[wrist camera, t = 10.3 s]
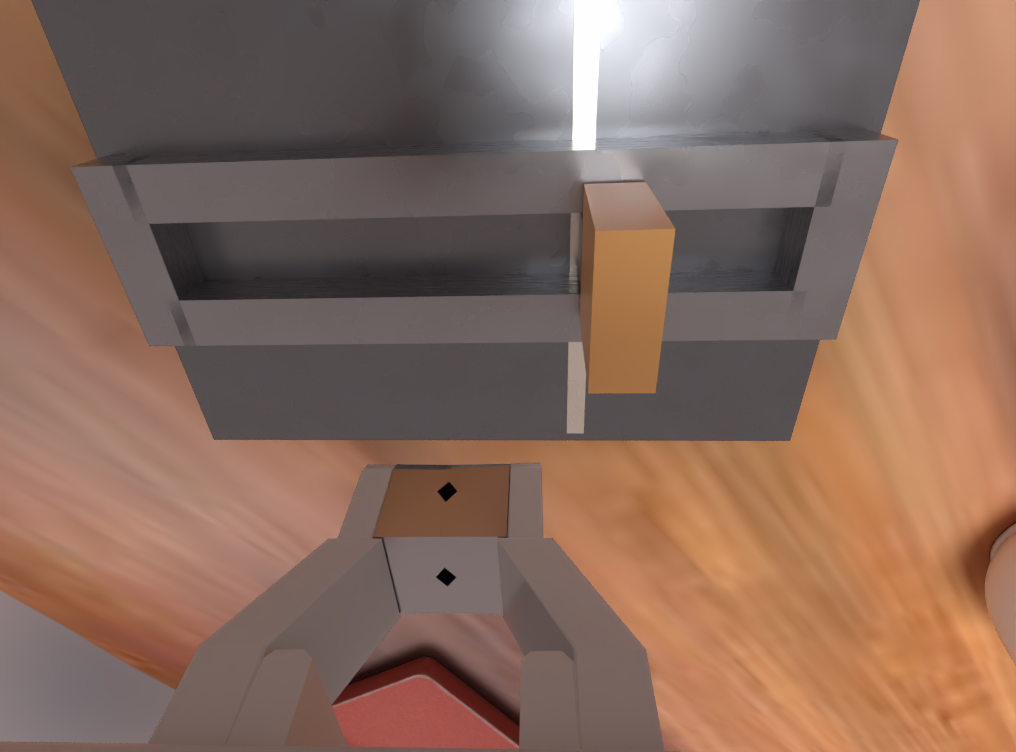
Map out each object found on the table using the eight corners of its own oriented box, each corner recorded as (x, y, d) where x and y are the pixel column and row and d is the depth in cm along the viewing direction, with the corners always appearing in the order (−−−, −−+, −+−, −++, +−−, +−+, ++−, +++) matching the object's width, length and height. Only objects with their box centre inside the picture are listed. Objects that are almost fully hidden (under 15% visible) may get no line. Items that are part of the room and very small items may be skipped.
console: (232, 415, 30) (192, 466, 26) (51, -59, 19) (-55, -76, 16) (775, 415, 28) (807, 469, 24) (916, -113, 17) (1008, -146, 14)
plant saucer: (265, 697, 46) (247, 740, 43) (430, 630, 40) (422, 676, 37) (408, 784, 54) (401, 826, 51) (567, 739, 47) (569, 785, 44)
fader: (576, 298, 23) (588, 393, 17) (580, 170, 20) (595, 230, 14) (626, 297, 22) (655, 393, 17) (637, 168, 20) (675, 228, 14)
